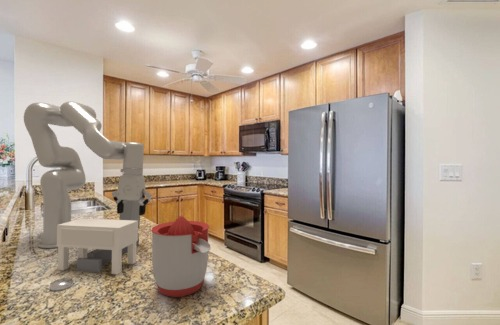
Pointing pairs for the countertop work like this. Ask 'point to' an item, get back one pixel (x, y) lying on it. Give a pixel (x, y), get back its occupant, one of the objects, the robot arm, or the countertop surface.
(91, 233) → the white footstool
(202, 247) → the citrus juicer
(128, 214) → the skincare box
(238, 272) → the countertop surface
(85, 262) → the dark grey bar
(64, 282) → the disc
